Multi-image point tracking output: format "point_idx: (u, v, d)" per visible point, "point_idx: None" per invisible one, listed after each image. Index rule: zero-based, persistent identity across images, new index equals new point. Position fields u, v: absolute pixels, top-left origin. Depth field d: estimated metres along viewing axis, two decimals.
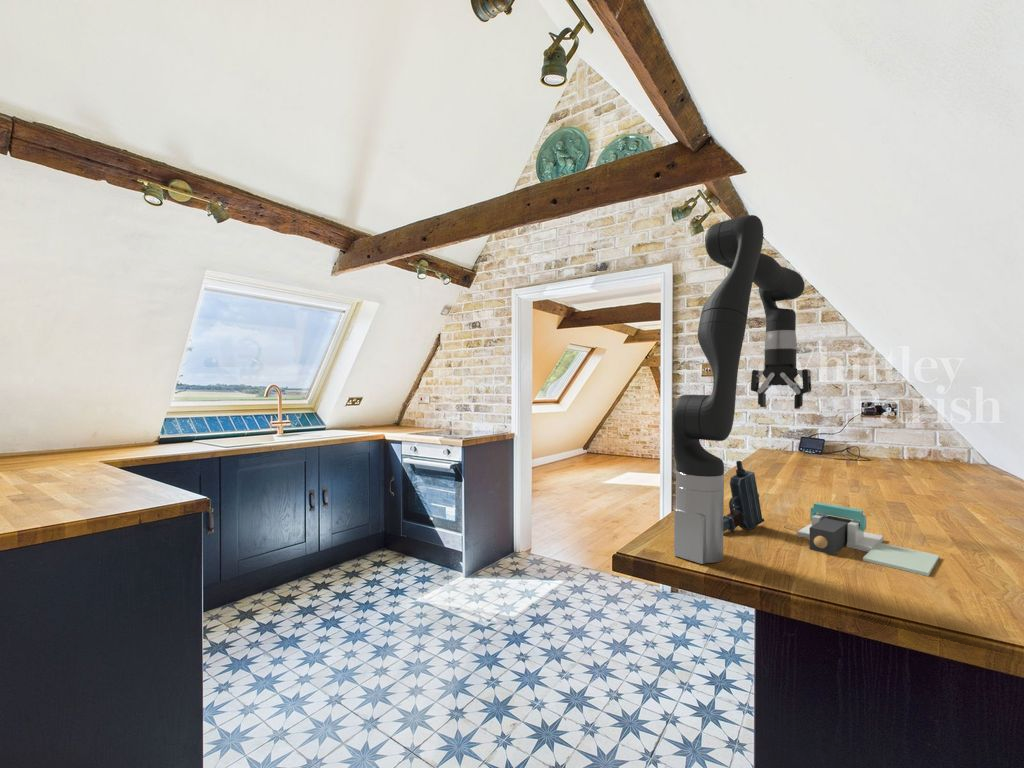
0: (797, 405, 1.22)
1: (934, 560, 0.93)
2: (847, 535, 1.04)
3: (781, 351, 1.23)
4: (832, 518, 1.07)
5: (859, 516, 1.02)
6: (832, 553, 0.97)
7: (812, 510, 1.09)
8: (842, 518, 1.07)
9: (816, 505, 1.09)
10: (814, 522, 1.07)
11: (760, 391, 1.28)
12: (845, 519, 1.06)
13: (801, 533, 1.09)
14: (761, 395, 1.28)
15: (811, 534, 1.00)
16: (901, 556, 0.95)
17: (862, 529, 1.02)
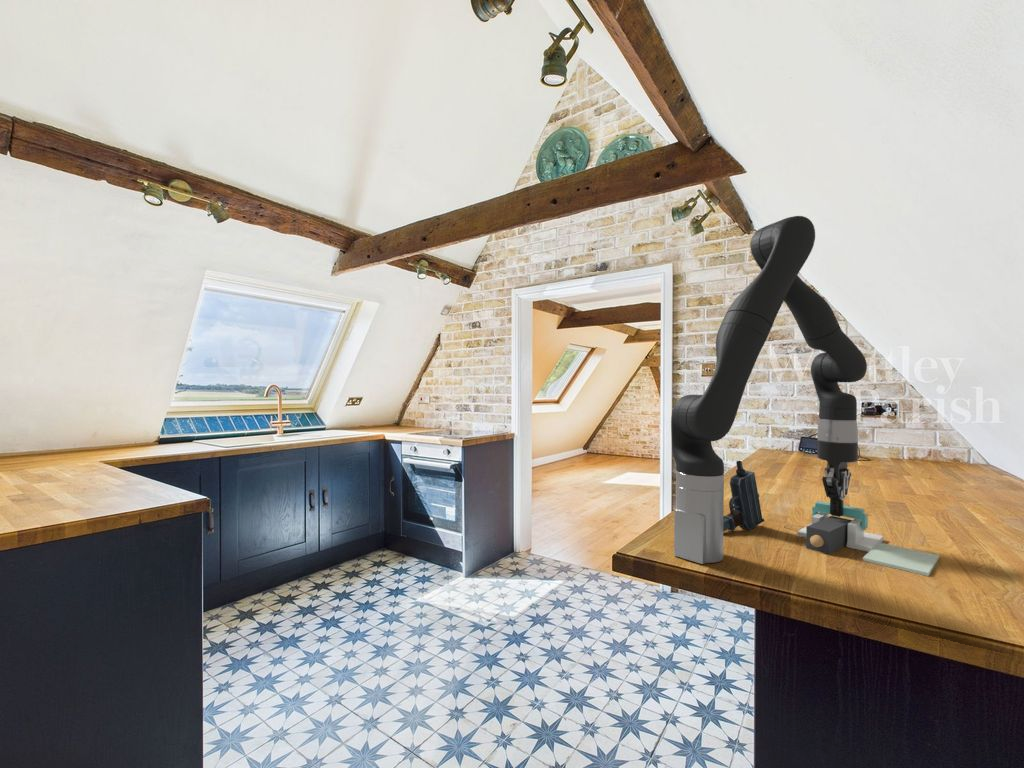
0: None
1: (934, 560, 0.93)
2: None
3: None
4: (834, 518, 1.07)
5: (860, 515, 1.03)
6: (828, 552, 0.98)
7: (814, 509, 1.10)
8: None
9: (818, 504, 1.09)
10: (814, 522, 1.07)
11: (842, 497, 1.04)
12: (847, 519, 1.06)
13: (801, 533, 1.09)
14: (842, 502, 1.04)
15: (808, 533, 1.01)
16: (901, 556, 0.95)
17: (863, 528, 1.03)
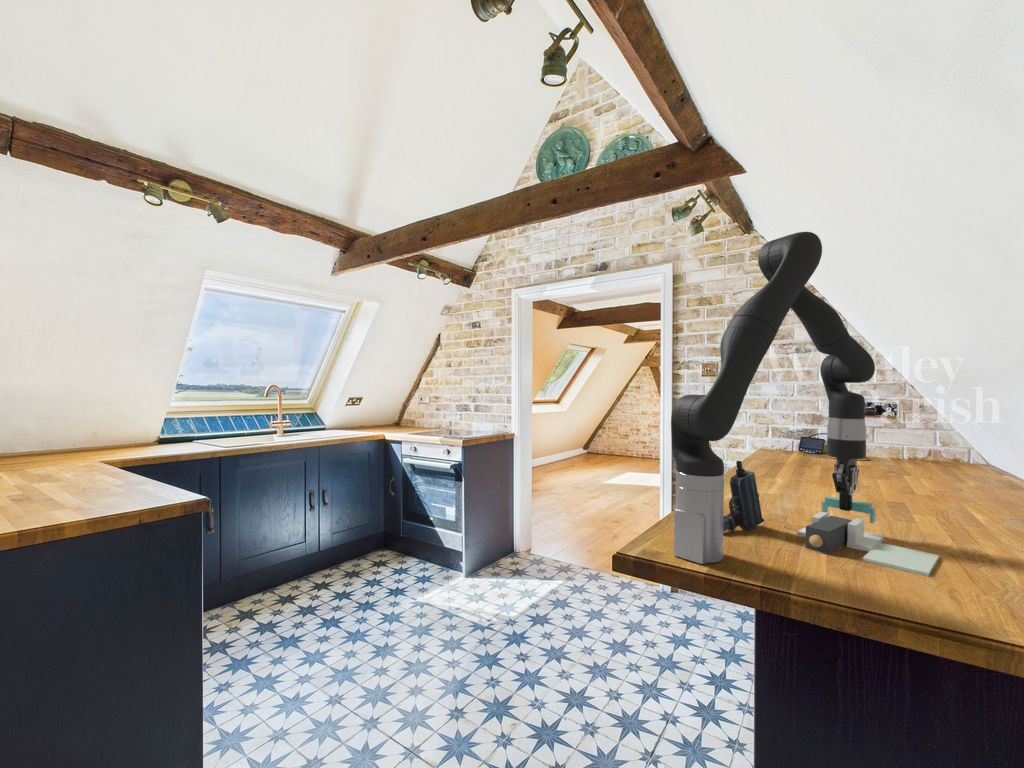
0: None
1: (934, 560, 0.93)
2: (847, 535, 1.04)
3: None
4: (833, 518, 1.07)
5: (869, 509, 1.08)
6: (827, 552, 0.98)
7: (823, 504, 1.15)
8: None
9: (827, 499, 1.14)
10: (814, 522, 1.07)
11: (851, 492, 1.09)
12: (847, 519, 1.06)
13: (801, 533, 1.09)
14: (851, 497, 1.09)
15: (807, 533, 1.01)
16: (901, 556, 0.95)
17: (872, 521, 1.08)
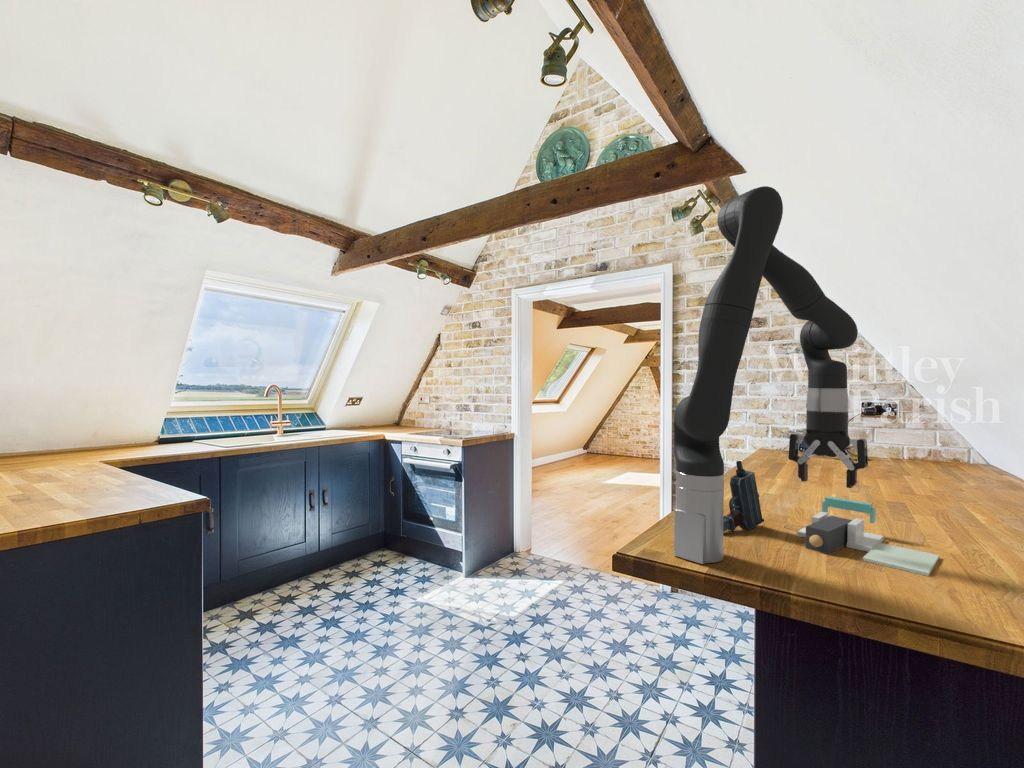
0: None
1: (934, 560, 0.93)
2: (847, 535, 1.04)
3: None
4: (833, 518, 1.07)
5: (869, 509, 1.08)
6: (827, 552, 0.98)
7: (824, 504, 1.15)
8: None
9: (827, 499, 1.15)
10: (814, 522, 1.07)
11: None
12: (847, 519, 1.06)
13: (801, 533, 1.09)
14: None
15: (807, 533, 1.01)
16: (901, 556, 0.95)
17: (872, 521, 1.08)
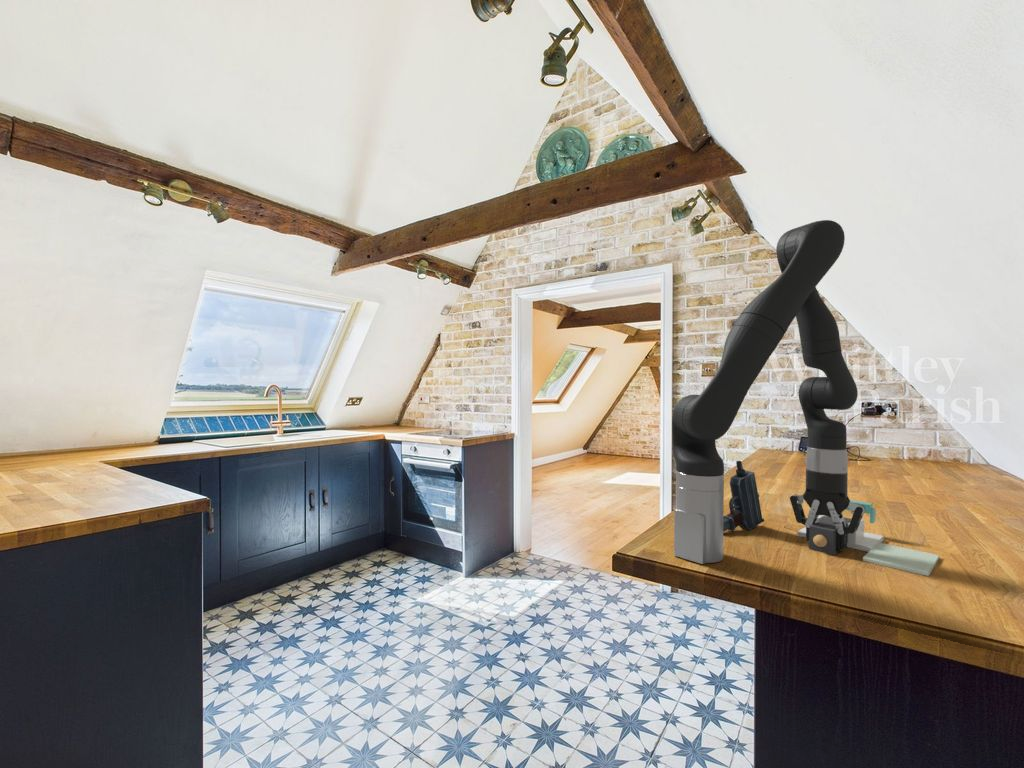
0: None
1: (934, 560, 0.93)
2: None
3: None
4: None
5: (869, 509, 1.08)
6: (831, 552, 0.97)
7: None
8: None
9: None
10: None
11: None
12: (847, 518, 1.06)
13: (801, 533, 1.09)
14: None
15: (811, 533, 1.00)
16: (901, 556, 0.95)
17: (872, 521, 1.08)
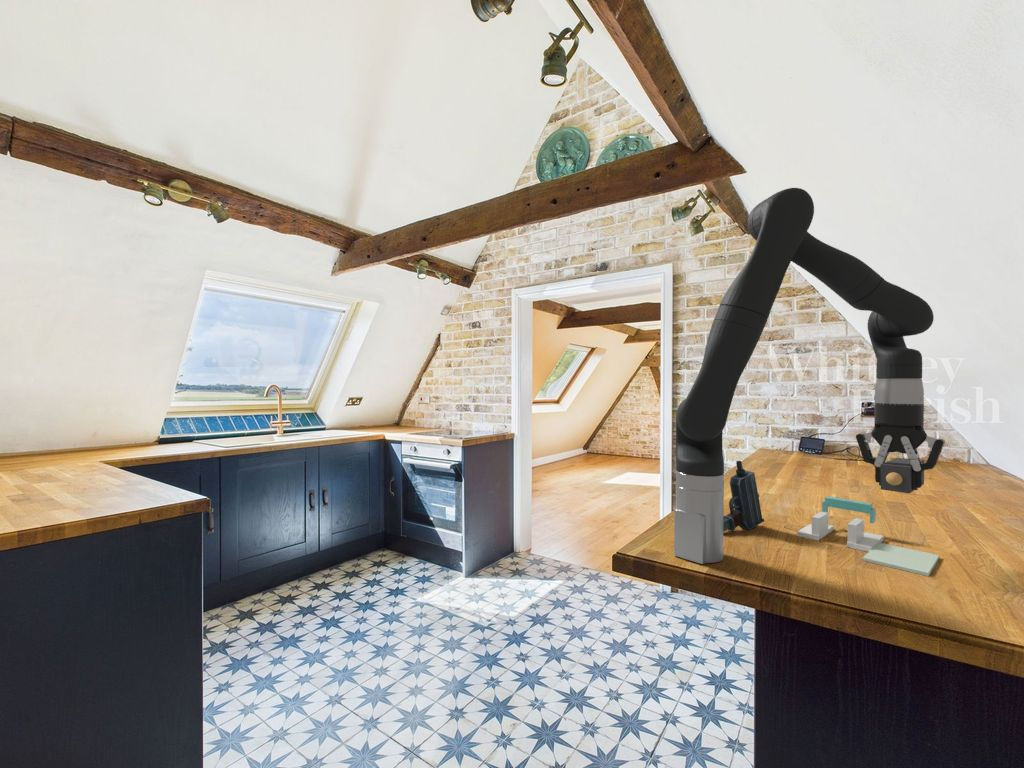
0: None
1: (934, 560, 0.93)
2: None
3: None
4: (902, 459, 0.99)
5: (869, 509, 1.08)
6: (908, 490, 0.89)
7: (824, 504, 1.15)
8: None
9: (827, 499, 1.15)
10: (814, 522, 1.07)
11: None
12: None
13: (801, 533, 1.09)
14: None
15: (882, 471, 0.92)
16: (901, 556, 0.95)
17: (872, 521, 1.08)
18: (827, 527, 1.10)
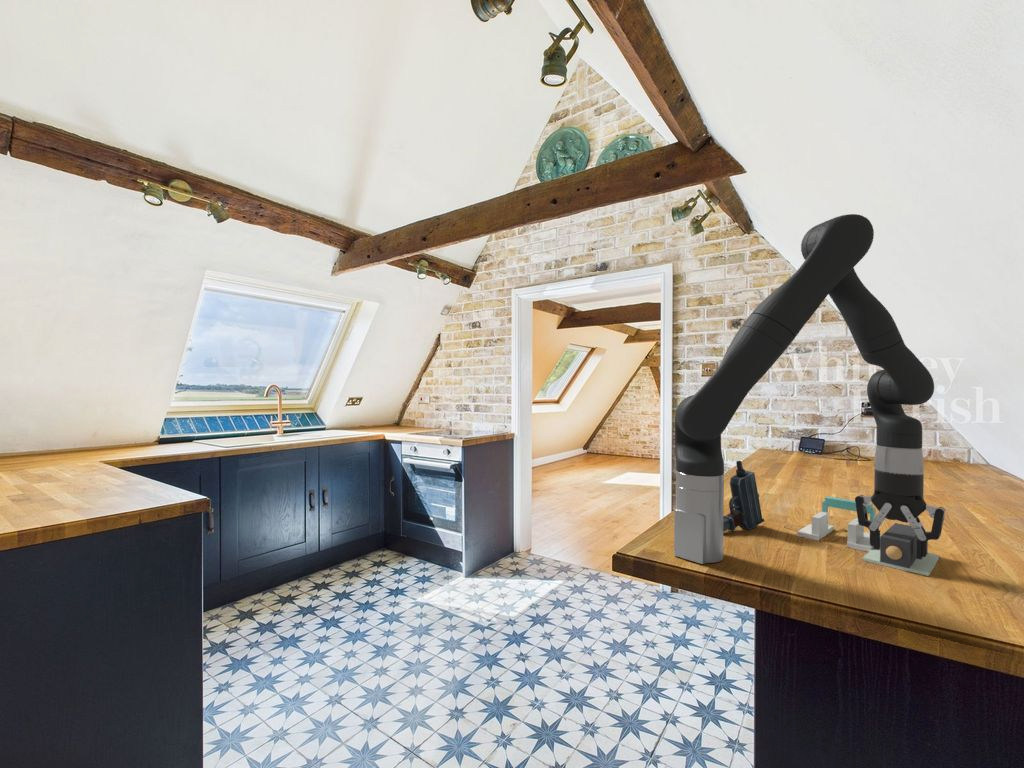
0: None
1: (934, 560, 0.93)
2: None
3: None
4: (900, 526, 0.99)
5: (869, 509, 1.08)
6: (907, 565, 0.89)
7: (824, 504, 1.15)
8: None
9: (827, 499, 1.15)
10: (814, 522, 1.07)
11: None
12: None
13: (801, 533, 1.09)
14: None
15: (882, 544, 0.92)
16: None
17: (872, 521, 1.08)
18: (827, 527, 1.10)
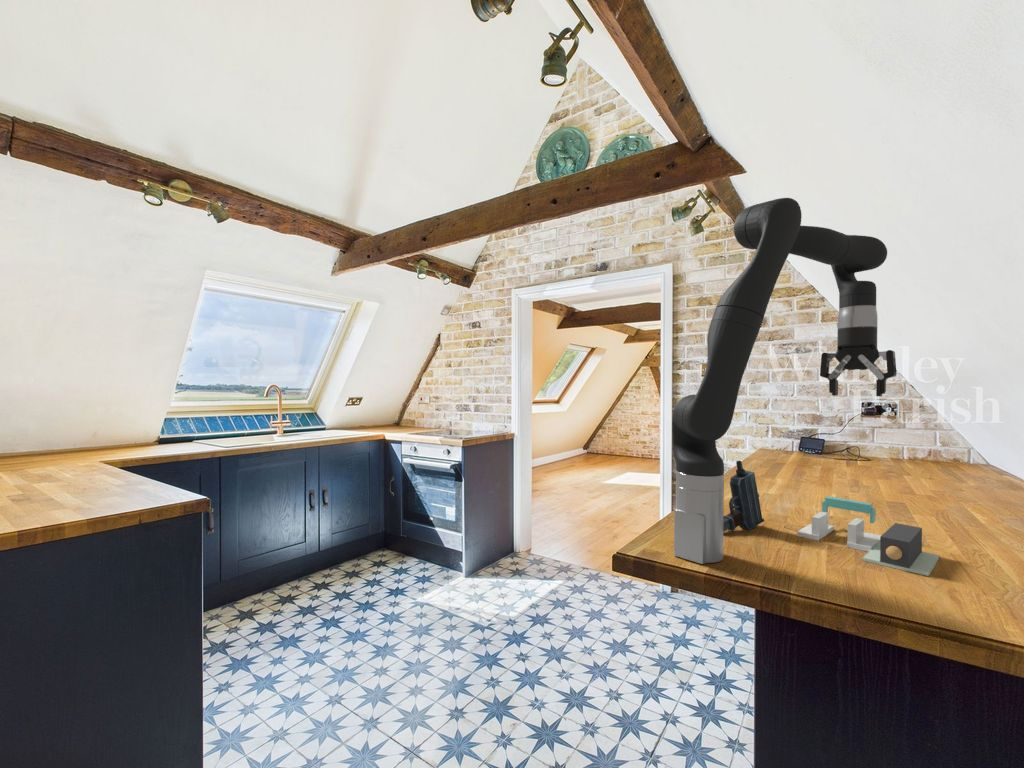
0: None
1: (934, 560, 0.93)
2: (919, 545, 0.96)
3: None
4: (900, 526, 0.99)
5: (869, 509, 1.08)
6: (907, 565, 0.89)
7: (824, 504, 1.15)
8: (911, 526, 0.99)
9: (827, 499, 1.15)
10: (814, 522, 1.07)
11: None
12: (915, 527, 0.98)
13: (801, 533, 1.09)
14: None
15: (882, 544, 0.92)
16: None
17: (872, 521, 1.08)
18: (827, 527, 1.10)
